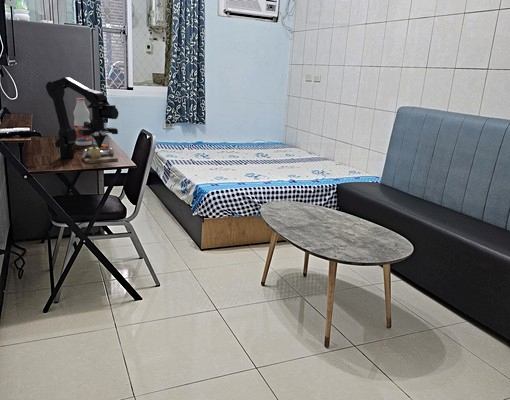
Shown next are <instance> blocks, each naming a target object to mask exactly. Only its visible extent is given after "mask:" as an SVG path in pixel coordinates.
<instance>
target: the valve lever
mask: <svg viewBox="0 0 510 400" xmlns="http://www.w3.org/2000/svg"><path fill="white" fill-rule="evenodd" d="M90 146H91V147H93V146H94V147H98V146H97V143H93V142H92V144H91V145H90ZM109 148H110V144H109V145H105V144H102V145H101V147H100V150H109Z"/></svg>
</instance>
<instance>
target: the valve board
mask: <svg viewBox="0 0 510 400" xmlns="http://www.w3.org/2000/svg"><path fill="white" fill-rule="evenodd" d="M82 154H83V155H81V160H82V161H83V162H84V163H85V164H98V163H110V162H111V163H112V162H119V158H118V157H117V156H116V155H114V154H115V152H114V149H113V148H112V147H109V149H107V150H101V149H99V148H98V147H94V146H91V147H88V149H83V153H82Z"/></svg>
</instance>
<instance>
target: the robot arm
mask: <svg viewBox="0 0 510 400" xmlns="http://www.w3.org/2000/svg"><path fill="white" fill-rule="evenodd" d="M65 89H71V90H72V91H74V92H76V93H77V94H79V95H81V96H83V98H85V100H86V101H87V102H89V103H90V104H89V105H88V106H87V109H91V119H90V123H89V122H84V128H88V129H79V131H78V134H79V135H82V136H92V138H93V137H94V139H95V141H96V143H97V146H98V148H99V149H100V147H101V145H102V143H103V141H104V139H105V137H106V136H107V135H106V134H112V135H118V134H119V130H118V128H117V127H106V128H105V123H106V120H107V119H109V120H117V119H118V117H119V110H118V109H117V107H116V105H113V104H112V105H111V104H110V103H109V102H108V100H107V98H106V96H105V94H104V93H103V92H102V91H98V90H96V89H95V90H94V89H90V88H89V87H87V86H85V85H84V84H82V83H80V82H78V81H76V80H74V79H73V78H72V77H70V76H68V77H63V78H60V79H56V80H54V81H48V82H46V85H45V90H46V92H47V95H48V96H49V97H50V98H51V100H52V102H53V106H54V109H55V113H56V117H57V122H58V126H59V129H58V133H57V135H58V139H57V140H56V141H55V142H54V146H55V147H56V148H58V152H59V153H58V154H59V156H58V157H59V159H60V160H67V159H74V158H75V151H74V150H75V149H74V148H73V146H76V145H75V144H76V139H77V138H76V137H77V135H76V131H75V128H72V127H71V125H70V121H69V118H68V113H67V108H66V104H65V102H64V101H65V100H64V98H65V97H64V96H65ZM100 150H101V149H100Z"/></svg>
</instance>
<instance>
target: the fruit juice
mask: <svg viewBox="0 0 510 400" xmlns="http://www.w3.org/2000/svg"><path fill="white" fill-rule="evenodd" d="M85 100H86V98H85V97H76V98H75V101H76V104H75V106H74V107H75V108H74V110H73V111H72V112H73V114H72V115H73V118H74V119H73V127H74V128H73V129H75V131H76V135H77V137H76V138H77V139H76V141H75V144H76V145H77V146H92V145H91V144H92V143H93V136H82V135H79V134H78V131H79V129H88V128H84V122H89V123H91V119H90V114H91V113H90V110H89V108H88V106H87V104H86V103H85V102H86V101H85ZM76 145H75V146H76Z"/></svg>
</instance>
